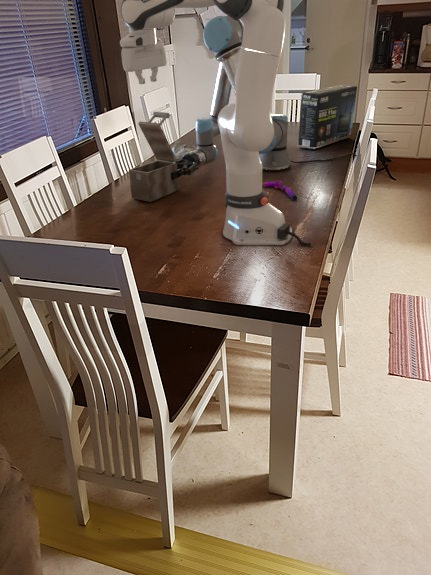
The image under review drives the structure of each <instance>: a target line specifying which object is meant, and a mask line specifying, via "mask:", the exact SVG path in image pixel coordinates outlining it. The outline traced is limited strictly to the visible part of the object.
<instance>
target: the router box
mask: <svg viewBox="0 0 431 575" xmlns="http://www.w3.org/2000/svg"><path fill="white" fill-rule="evenodd" d="M357 93H358V86H356V85H350V84H339V85H338V84H337V85H334V86H328V87H324V88H318V89H314V90H309V91H304V92H301V93H300V109H299V110H300V111H299V124H298V137H297V146H298V145H302V146H307V147H317V146H320V145H323V144H325V143H328V142H331V141H333V140H336V139H338V138H341V137H344V136H347V135H351V136H352V133H353V132H352V131H353V125H354V115H355V109H356V99H357ZM311 151H313V150H312V149H311Z"/></svg>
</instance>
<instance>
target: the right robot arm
mask: <svg viewBox="0 0 431 575" xmlns="http://www.w3.org/2000/svg"><path fill="white" fill-rule="evenodd" d="M243 37H244V25H243V23H242V21H241V20H240V19H238V20H234V19H232V18H231V17H229V16H228V15H217V16H215V17H212V18H210V19H209V20H208V21H207V23H206V24H205V26H204V28H203V33H202V39H203V42H204V46H206V47H207V49H208V50H209V51H211V52H213V56H214V57H215V61H217V62H218V68H217V71H216V72H217V73H216V79H215V84H214V90H213V93H212V94H213V95H212V100H211V105H210V111H209V115H208V116H209V117H199V118H197V119H196V120H195V139H196V148H197V149H196V150H194V151H191V152H189V153H187V154H185V155H184V156H183V157H182V159H180V160H177V161H176V162H172V163H176V166H177V170H176V171H174V172H172V173H171V180H174V179H176V178H177V179H178V178H180V177H182V176H186V175H187V176H191V175H192V174H193V173H195V172H196V171H197V170H199V169H200V168H201V167H203V166H205V165H208V164H210V163H212V162H214V161H215V160H216V159H218V156H219V150H218V148H217V146H216V145H214V138H216V137H217V136H218V135H221V134H220V130H219V127H218V115H219V113H220V111H221V110H222V109H223V108H224V107H225V106H227V105H229V104H230V100H231V96H232V95H231V94H232V90H233V93H234V95H235V96H236V85H235V74H236V70H237V65H238V60H239V55H240V50H241V49H242V48H241V46H242V41H243ZM272 123H273V127H274V137H273V140H272V142H271V143H270V145H269V146H268V147H267V148H266V149H264V150H262V151H258V152H259V157H260V160H261V163H262V167H263V169H262V172H270V173H271V172H272V173H275V172H276V173H277V172H284V171H287V170H289V169H290V168H291V163H290V162H293V161H294V160H290V158H289V154H288V150H287V147H288V130H289V129H288V128H289V126H288V125H289V118H288V116H287V115H286V114H280V113H279V114H276V113H275V114H274V113H272ZM351 153H352V154H348V155H351V156H354V157H357V156H358V155H357V154H356V153H354V152H351ZM348 155H347V156H348ZM332 158H333V159H332ZM332 158H325V159H326V160H321V159H310V160H299V161H300V162H293V163H292V164H305V163H315V162H317V163H318V162H329V161H331V162H332V161H335V160H336V159H337V158H336V156H335V158H334V157H332ZM166 162H170V161H166ZM289 165H290V166H289ZM288 166H289V167H288ZM286 167H288V168H286ZM283 168H285V169H283ZM266 169H267V170H266ZM278 169H280V170H278Z"/></svg>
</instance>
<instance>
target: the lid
mask: <svg viewBox="0 0 431 575" xmlns="http://www.w3.org/2000/svg"><path fill="white" fill-rule="evenodd" d="M170 115H171V114H170V113H169V112H165V111H164V112H162V111H153V113H152V116H151V118H150V119H149V120H148V121H141V120H140V121H138V123H137V124H138V126H139V128H140V130H141V132H142V134H143V136H144V137H145V140H146V141H147V143H148V146H149V148H150V149H151V151H152V153H153V155H154V157H155V159H156V161H157V160H159V161H170V162H176V161H177V159H176V157H175V155H174V153H173V151H172V147H171V145H170V143H169V141H168V139H167V136H166V135H165V133H164V132H165V131H164V130H163V127H162V125H163V124H164V122H165V121H166V120H167V119H169V118H170V117H171V116H170ZM155 118H159V119H160V118H161V120H160V122H153V121H154V119H155Z"/></svg>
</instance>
